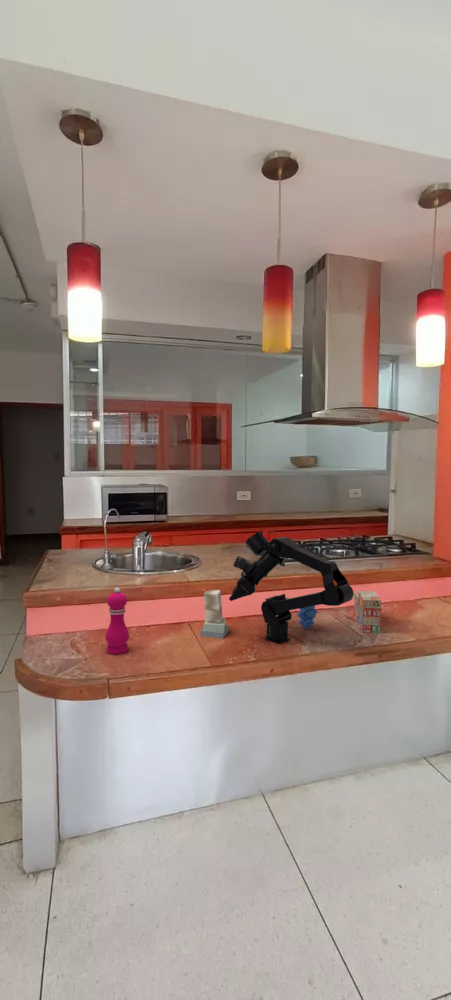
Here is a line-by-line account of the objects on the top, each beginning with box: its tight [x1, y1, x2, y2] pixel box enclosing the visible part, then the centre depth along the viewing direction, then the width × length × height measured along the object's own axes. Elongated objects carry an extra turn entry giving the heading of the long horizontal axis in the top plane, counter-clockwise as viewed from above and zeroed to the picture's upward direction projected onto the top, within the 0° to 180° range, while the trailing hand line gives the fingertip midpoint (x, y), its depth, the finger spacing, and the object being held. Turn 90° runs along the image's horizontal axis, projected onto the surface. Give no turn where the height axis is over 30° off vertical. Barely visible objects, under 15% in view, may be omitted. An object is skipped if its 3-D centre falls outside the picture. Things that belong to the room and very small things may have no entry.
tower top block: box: [203, 617, 227, 632], centre depth 163 cm, size 7×7×2 cm
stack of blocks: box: [353, 590, 382, 634], centre depth 175 cm, size 21×6×12 cm, turn 173°
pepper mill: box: [104, 587, 130, 655], centre depth 146 cm, size 7×7×20 cm
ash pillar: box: [203, 589, 224, 623], centre depth 163 cm, size 5×5×10 cm
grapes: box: [297, 605, 318, 630], centre depth 169 cm, size 12×7×12 cm, turn 15°
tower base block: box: [199, 625, 230, 639], centre depth 163 cm, size 8×8×2 cm
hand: (231, 596), depth 161 cm, fingers open, 9 cm apart
